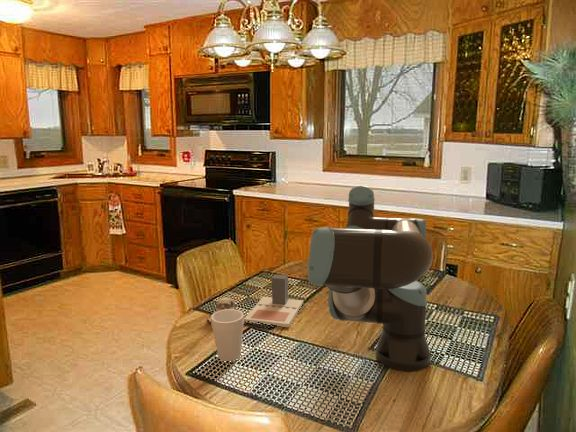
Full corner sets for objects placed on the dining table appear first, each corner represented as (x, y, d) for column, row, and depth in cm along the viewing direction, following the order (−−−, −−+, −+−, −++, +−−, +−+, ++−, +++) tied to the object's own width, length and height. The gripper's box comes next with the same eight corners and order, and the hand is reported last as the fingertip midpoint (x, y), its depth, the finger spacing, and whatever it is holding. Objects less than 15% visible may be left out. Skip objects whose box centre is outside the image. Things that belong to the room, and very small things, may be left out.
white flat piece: (288, 328, 145) (288, 323, 145) (244, 323, 149) (243, 318, 149) (298, 312, 157) (298, 308, 157) (256, 308, 162) (256, 304, 161)
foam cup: (230, 345, 134) (228, 306, 131) (252, 355, 128) (250, 314, 126) (206, 358, 127) (204, 317, 124) (228, 369, 121) (226, 326, 118)
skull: (239, 325, 146) (218, 303, 145) (219, 342, 149) (198, 321, 148) (248, 309, 157) (229, 289, 156) (229, 325, 160) (210, 305, 159)
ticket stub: (298, 311, 158) (298, 281, 155) (257, 307, 162) (256, 278, 160) (303, 304, 164) (303, 275, 162) (263, 300, 168) (262, 272, 166)
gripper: (403, 221, 138) (400, 263, 153) (326, 215, 144) (330, 256, 159) (401, 239, 133) (399, 280, 148) (321, 232, 139) (327, 272, 154)
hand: (363, 267), depth 153 cm, fingers open, 13 cm apart
